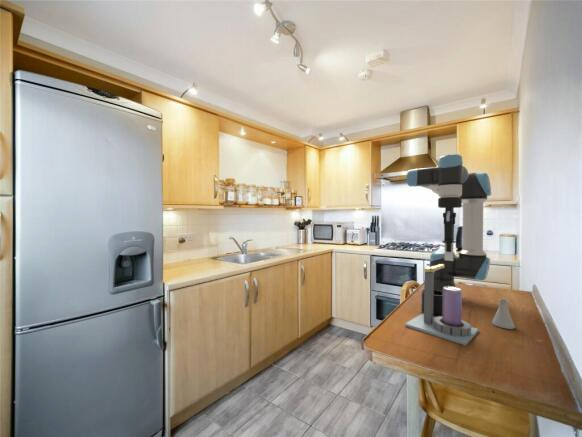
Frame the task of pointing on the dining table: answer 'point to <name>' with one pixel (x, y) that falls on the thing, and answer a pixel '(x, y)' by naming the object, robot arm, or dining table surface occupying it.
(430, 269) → the lever
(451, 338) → the seat board
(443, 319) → the beverage can
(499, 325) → the flask
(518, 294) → the dining table surface
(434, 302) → the mug
